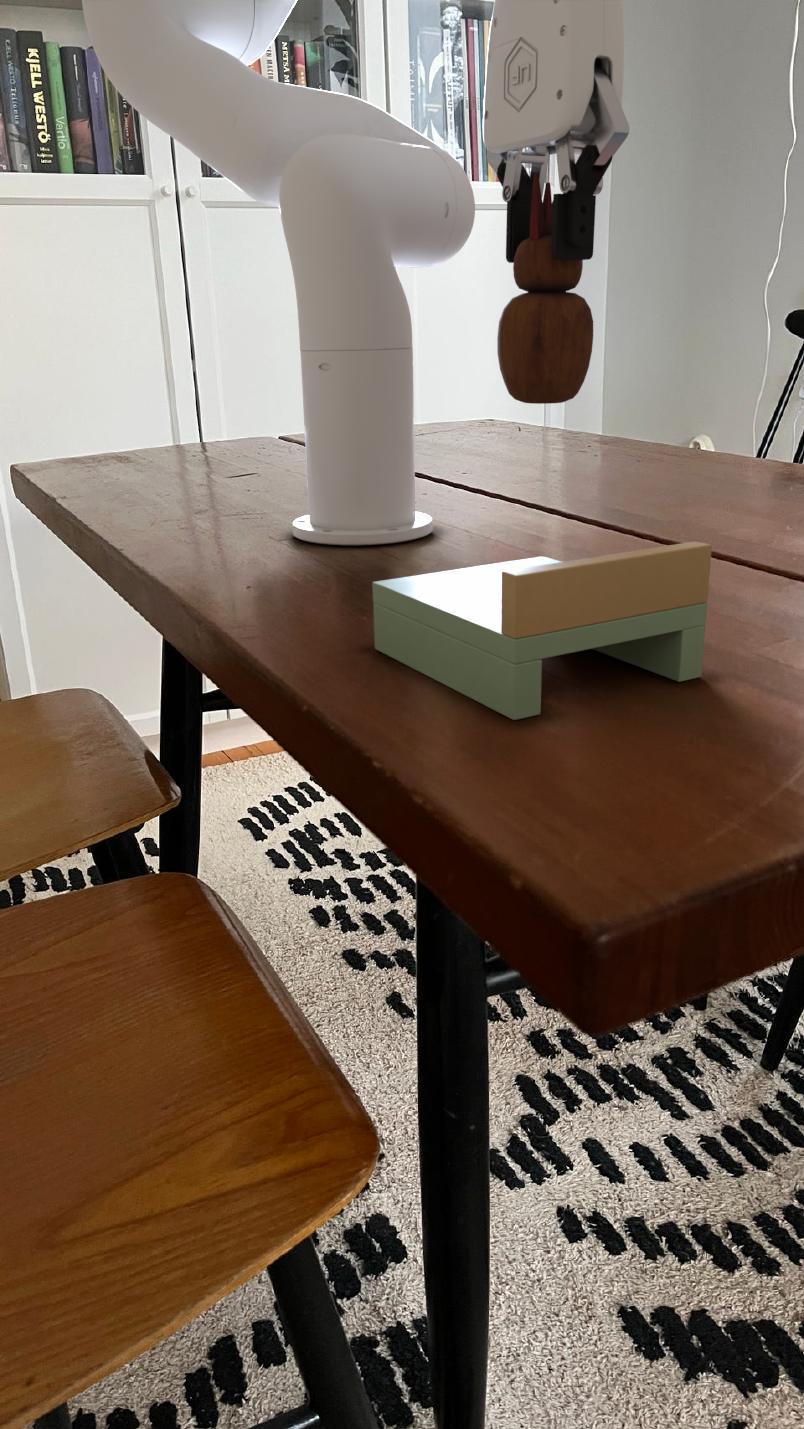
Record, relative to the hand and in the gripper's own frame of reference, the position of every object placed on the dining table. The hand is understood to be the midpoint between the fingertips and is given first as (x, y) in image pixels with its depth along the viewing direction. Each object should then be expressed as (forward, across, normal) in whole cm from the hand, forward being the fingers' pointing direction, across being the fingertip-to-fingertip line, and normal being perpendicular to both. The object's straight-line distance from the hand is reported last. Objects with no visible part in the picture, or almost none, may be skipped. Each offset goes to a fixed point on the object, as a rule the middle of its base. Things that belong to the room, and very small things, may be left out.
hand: (548, 258), depth 75 cm
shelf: (+22, +21, -16) cm, 34 cm away
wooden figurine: (+10, 0, 0) cm, 10 cm away
